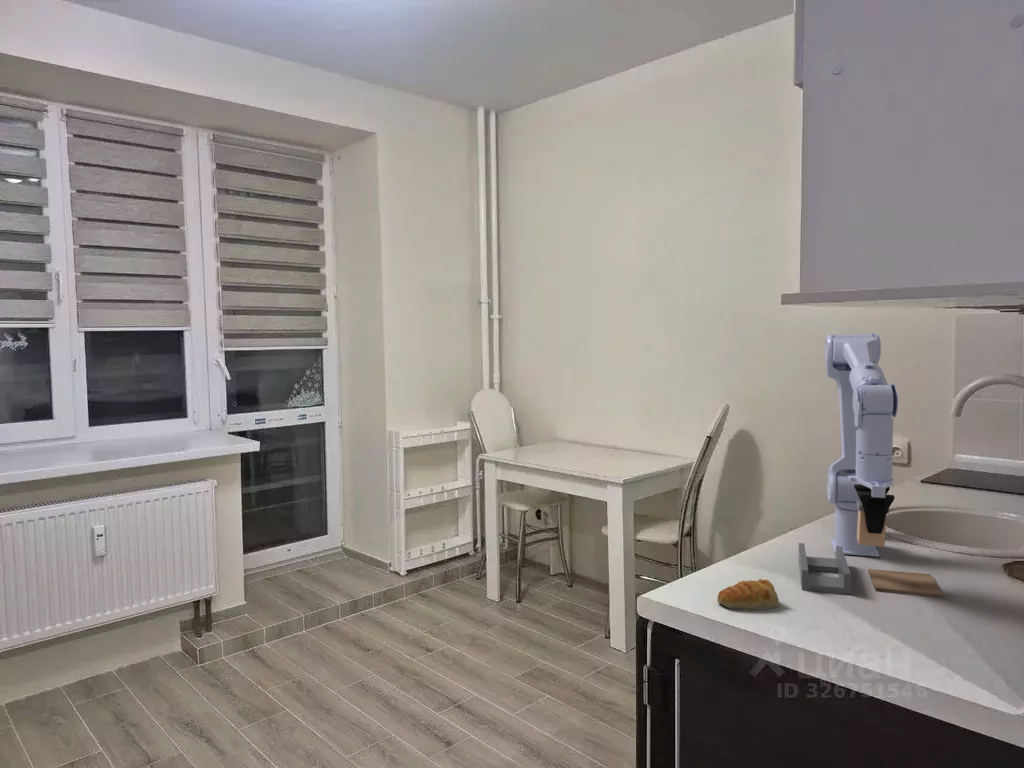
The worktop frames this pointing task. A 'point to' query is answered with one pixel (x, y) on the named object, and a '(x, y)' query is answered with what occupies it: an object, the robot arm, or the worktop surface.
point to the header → (825, 565)
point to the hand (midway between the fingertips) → (872, 528)
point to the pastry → (749, 595)
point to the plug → (862, 531)
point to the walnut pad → (904, 582)
